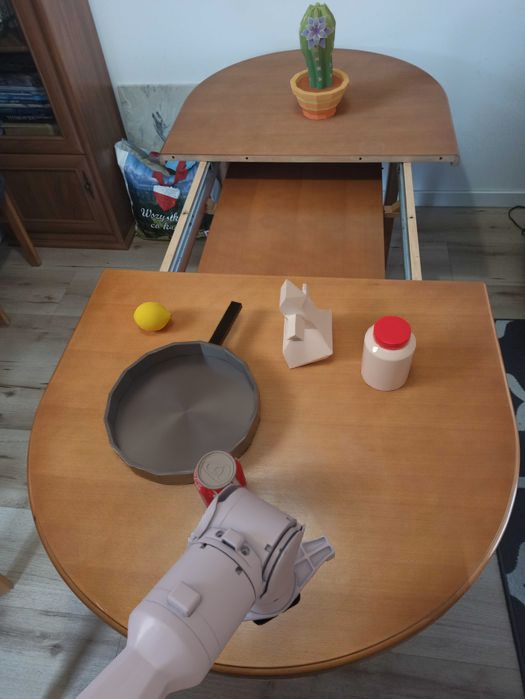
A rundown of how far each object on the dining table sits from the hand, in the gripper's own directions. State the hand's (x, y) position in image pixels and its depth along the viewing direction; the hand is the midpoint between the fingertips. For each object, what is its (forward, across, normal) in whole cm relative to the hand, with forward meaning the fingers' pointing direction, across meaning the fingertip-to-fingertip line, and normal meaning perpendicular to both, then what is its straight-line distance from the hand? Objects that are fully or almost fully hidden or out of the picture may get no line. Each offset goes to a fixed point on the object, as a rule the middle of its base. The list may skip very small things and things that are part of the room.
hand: (271, 599), depth 54 cm
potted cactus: (+10, -68, -102) cm, 123 cm away
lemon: (+10, -3, -53) cm, 54 cm away
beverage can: (+10, -1, -16) cm, 18 cm away
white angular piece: (+10, -25, -35) cm, 44 cm away
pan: (+9, -5, -36) cm, 37 cm away
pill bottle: (+10, -33, -23) cm, 41 cm away
